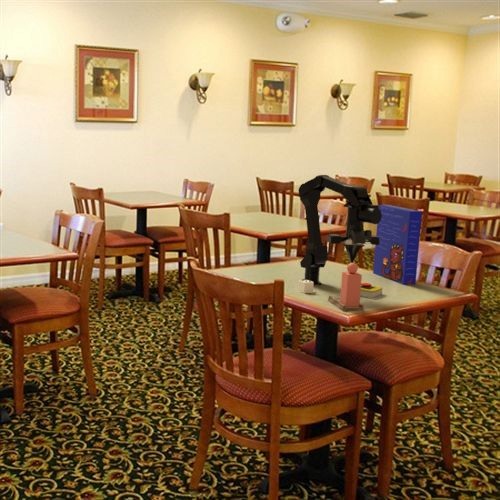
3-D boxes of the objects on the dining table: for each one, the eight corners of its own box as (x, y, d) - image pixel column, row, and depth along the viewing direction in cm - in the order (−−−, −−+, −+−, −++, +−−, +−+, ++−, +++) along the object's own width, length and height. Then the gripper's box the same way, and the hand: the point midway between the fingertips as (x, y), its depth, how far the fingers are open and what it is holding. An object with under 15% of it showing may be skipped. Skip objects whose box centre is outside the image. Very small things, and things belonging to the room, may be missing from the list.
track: (327, 300, 237) (328, 295, 237) (347, 300, 239) (348, 295, 239) (342, 311, 224) (343, 305, 224) (363, 310, 226) (364, 305, 226)
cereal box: (415, 284, 272) (422, 211, 267) (403, 284, 270) (410, 211, 265) (384, 272, 292) (390, 204, 287) (373, 273, 290) (378, 204, 284)
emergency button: (377, 288, 243) (340, 282, 251) (376, 300, 243) (339, 293, 252) (387, 284, 250) (351, 278, 259) (386, 296, 251) (350, 289, 259)
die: (298, 290, 251) (298, 279, 250) (307, 290, 252) (307, 278, 252) (304, 293, 247) (304, 281, 246) (313, 292, 249) (313, 281, 248)
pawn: (339, 302, 230) (343, 261, 227) (353, 302, 231) (356, 261, 229) (345, 306, 225) (348, 264, 223) (359, 306, 227) (362, 264, 224)
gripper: (336, 223, 235) (333, 266, 238) (386, 224, 238) (383, 267, 241) (327, 218, 246) (325, 260, 249) (376, 220, 249) (373, 261, 252)
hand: (351, 262), depth 247 cm, fingers closed
